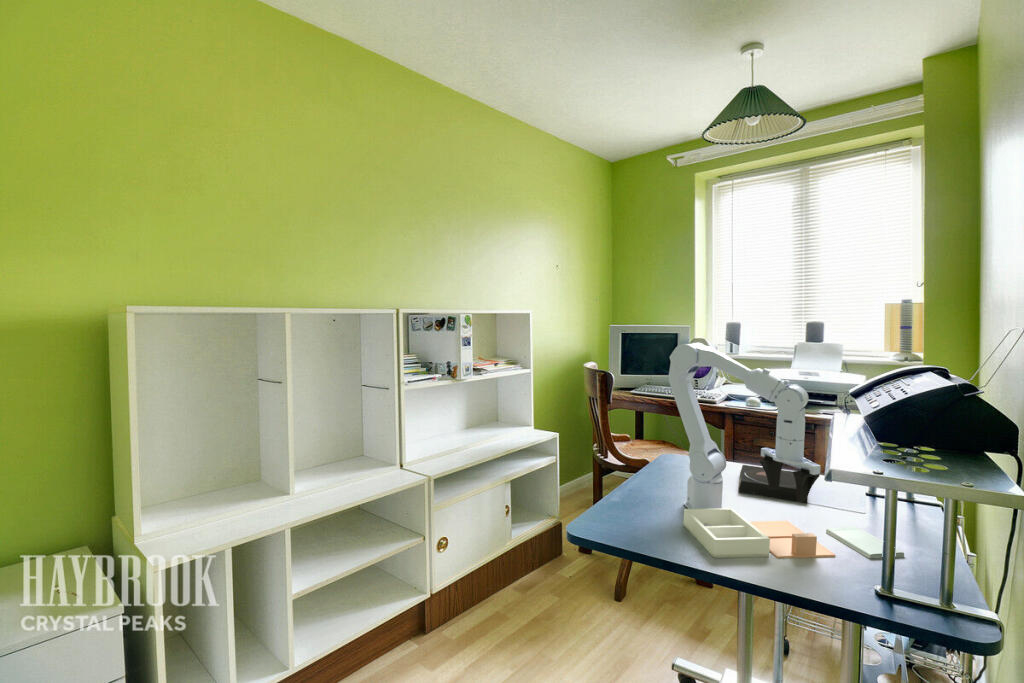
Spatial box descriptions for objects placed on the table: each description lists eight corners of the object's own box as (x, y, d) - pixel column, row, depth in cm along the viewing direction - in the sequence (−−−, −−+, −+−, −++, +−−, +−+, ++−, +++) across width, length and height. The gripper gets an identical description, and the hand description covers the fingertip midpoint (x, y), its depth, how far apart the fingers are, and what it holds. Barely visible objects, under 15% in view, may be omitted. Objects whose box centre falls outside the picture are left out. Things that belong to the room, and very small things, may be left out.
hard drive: (904, 552, 106) (857, 526, 118) (869, 554, 105) (826, 527, 117) (904, 559, 106) (857, 532, 118) (869, 561, 105) (825, 534, 117)
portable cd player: (740, 476, 157) (740, 464, 156) (802, 485, 149) (802, 472, 149) (738, 494, 142) (738, 480, 142) (807, 505, 134) (808, 490, 134)
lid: (736, 525, 121) (737, 506, 121) (786, 524, 122) (787, 504, 122) (777, 560, 105) (778, 537, 104) (835, 559, 106) (836, 536, 105)
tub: (683, 524, 120) (684, 508, 120) (731, 523, 121) (731, 508, 121) (714, 558, 104) (714, 539, 104) (769, 556, 105) (769, 538, 105)
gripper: (751, 431, 120) (749, 486, 121) (804, 447, 106) (801, 509, 107) (774, 429, 122) (772, 483, 123) (828, 444, 108) (825, 505, 109)
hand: (787, 495), depth 115 cm, fingers open, 7 cm apart
